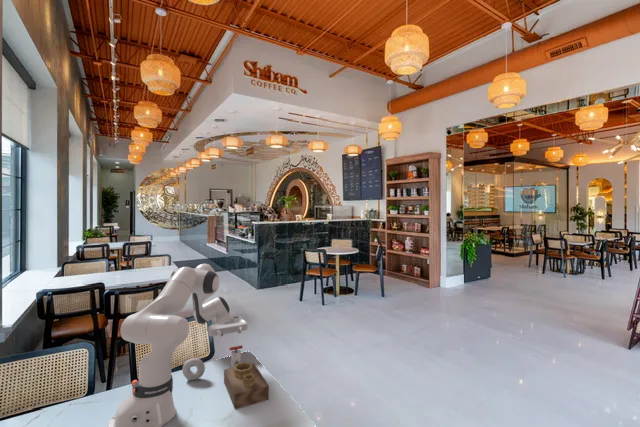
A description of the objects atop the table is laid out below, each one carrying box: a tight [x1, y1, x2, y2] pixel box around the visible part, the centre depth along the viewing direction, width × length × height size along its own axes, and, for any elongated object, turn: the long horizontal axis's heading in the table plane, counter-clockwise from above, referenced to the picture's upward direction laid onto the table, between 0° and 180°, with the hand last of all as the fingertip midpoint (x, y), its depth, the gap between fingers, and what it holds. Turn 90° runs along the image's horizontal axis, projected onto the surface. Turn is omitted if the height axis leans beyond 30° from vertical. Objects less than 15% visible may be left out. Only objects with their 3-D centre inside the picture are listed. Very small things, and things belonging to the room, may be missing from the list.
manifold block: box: [223, 361, 270, 410], centre depth 142 cm, size 14×22×9 cm, turn 27°
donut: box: [182, 357, 206, 381], centre depth 151 cm, size 10×4×10 cm, turn 97°
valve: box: [228, 345, 243, 368], centre depth 158 cm, size 6×5×12 cm
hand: (230, 333), depth 169 cm, fingers open, 8 cm apart
